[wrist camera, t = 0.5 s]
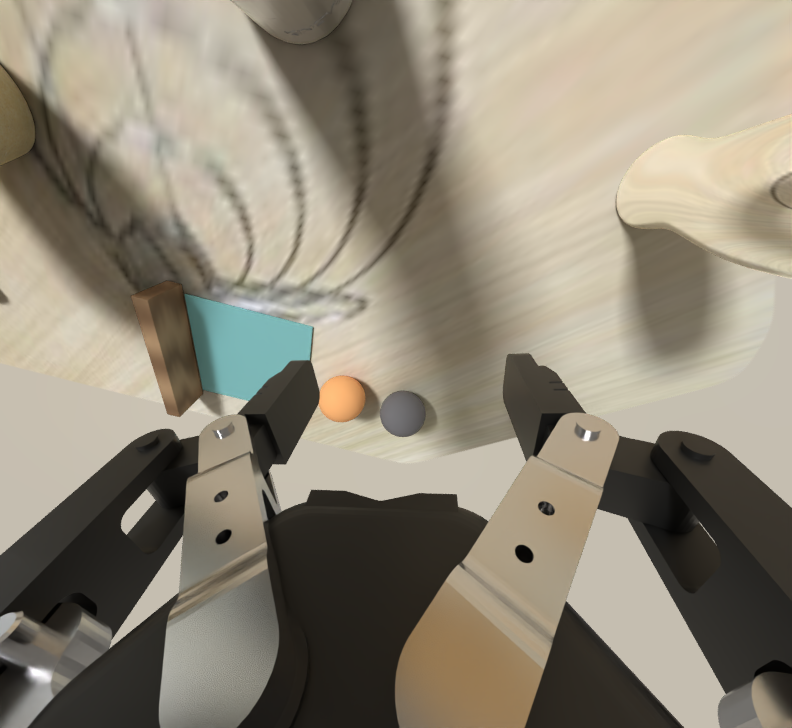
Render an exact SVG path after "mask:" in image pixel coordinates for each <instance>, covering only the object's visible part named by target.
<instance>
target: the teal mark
mask: <svg viewBox="0 0 792 728" xmlns="http://www.w3.org/2000/svg"><path fill="white" fill-rule="evenodd" d="M184 295H185V300H186V305H187V310H188V316H189V321H190V326H191V331H192V336H193V341H194V346H195V352H196V357H197V362H198V367H199V372H200V377H201V382H202V388H203V390H206V391H210V392H214V393H218V394H222V395H227V396H231V397H235V398H239V399H243V400H248V401H249V400H250V399H251V398H252V397H253V396H254V395H256V393H257V392H258V390H259V389H260V388H262V386H263V385H264V384H265V383H266V382H267V380H268V379H270V378H271V377H273V376H274V375H276V374H277V373H279V372H281V371H282V370H283V369H284V368H285V366H286V365H287V364H288V363H289V362H290V361H293V360H309V361H310V354H311V343H312V332H313V327H311V326H308V325H304V324H300V323H296V322H292V321H289V320H285V319H281V318H277V317H273V316H269V315H266V314H262V313H258V312H254V311H250V310H246V309H243V308H239V307H235V306H231V305H227V304H223V303H220V302H216V301H212V300H208V299H204V298H200V297H197V296H193V295H189V294H184Z"/></svg>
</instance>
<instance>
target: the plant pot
mask: <svg viewBox="0 0 792 728" xmlns="http://www.w3.org/2000/svg"><path fill="white" fill-rule="evenodd" d="M34 142H35V125H34V121H33V118H32V115H31V112H30V110H29V107H28V105H27V102H26V101H25V99H24V97H23V95H22V93H21V91H20V90H19V89H18V87H17V86H16V84H15V83H14V81H13V80H12V78H11V77H10V76H9V75H8V73H7V72H6V71H5V70H4V69H3V67H2V66H1V65H0V165H3V164H5V163H7V162H10V161H12V160H14V159H16V158H18V157H20V156H22V155H24V154H26V153H28V152H29V151H30V150H31V148H32V147H33V144H34Z"/></svg>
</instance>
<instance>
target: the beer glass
mask: <svg viewBox="0 0 792 728" xmlns="http://www.w3.org/2000/svg"><path fill="white" fill-rule="evenodd" d="M616 206H617V211H618V214H619V216H620V218H621V219H622V220H623V221H624V222H625V223H626V224H627V225H629V226H631V227H634V228H638V229H668V230H671V231H673V232H675V233H677V234H678V235H680V236H682V237H683V238H685V239H687V240H688V241H690V242H691V243H693V244H695V245H697V246H698V247H700V248H702V249H703V250H705V251H707V252H709V253H711V254H713V255H715V256H717V257H719V258H721V259H724V260H726V261H729V262H731V263H734V264H737V265H740V266H743V267H746V268H749V269H752V270H756V271H760V272H764V273H768V274H772V275H776V276H780V277H784V278H789V279H792V114H790V115H787V116H784V117H781V118H778V119H775V120H772V121H769V122H766V123H763V124H760V125H757V126H754V127H751V128H748V129H745V130H742V131H739V132H736V133H733V134H730V135H726V136H723V137H717V138H702V137H697V136H693V135H677V136H673V137H669V138H667V139H664V140H662V141H660V142H658V143H656V144H655V145H653V146H651V147H650V148H649V149H647V150H646V151H645V152H643V153H642V154H641V155H640V156H639V157H638V158H637V159H636V160H635V161H634V162H633V164H632V165H631V166H630V167H629V169H628V170H627V172H626V173H625V175H624V177H623V179H622V181H621V183H620V186H619V189H618V192H617V198H616Z"/></svg>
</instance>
